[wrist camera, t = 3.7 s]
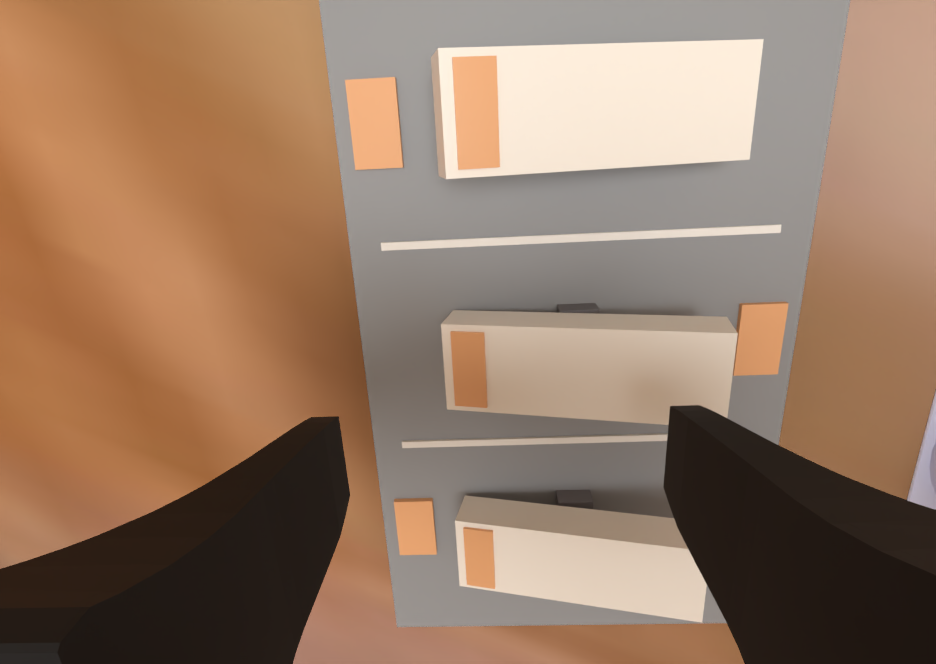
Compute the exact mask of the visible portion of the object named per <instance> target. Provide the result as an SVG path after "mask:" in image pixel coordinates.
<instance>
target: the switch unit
mask: <svg viewBox="0 0 936 664" xmlns="http://www.w3.org/2000/svg"><path fill="white" fill-rule="evenodd" d="M319 5H320V13H321V21H322V29H323V37H324V45H325V53H326V61H327V69H328V77H329V85H330V93H331V101H332V109H333V117H334V125H335V133H336V141H337V149H338V157H339V165H340V173H341V181H342V189H343V197H344V205H345V213H346V221H347V229H348V237H349V245H350V253H351V261H352V269H353V277H354V285H355V293H356V301H357V310H358V318H359V326H360V334H361V342H362V350H363V358H364V366H365V374H366V382H367V390H368V398H369V406H370V414H371V422H372V430H373V438H374V446H375V454H376V462H377V470H378V478H379V486H380V494H381V502H382V510H383V518H384V526H385V534H386V542H387V550H388V558H389V566H390V574H391V582H392V590H393V598H394V606H395V614H396V622H397V627H443V626H525V625H607V624H689V623H701V622H694V621H687V620H681V619H674V618H668V617H661V616H655V615H648V614H641V613H635V612H628V611H622V610H615V609H608V608H602V607H595V606H589V605H582V604H575V603H569V602H562V601H556V600H549V599H542V598H536V597H529V596H523V595H516V594H510V593H503V592H496V591H490V590H483V589H477V588H470V587H463V586H460V585H459V571H458V557H457V543H456V529H455V519H456V517H457V514H458V512H459V509H460V507H461V504H462V502H463V499H464V497H465V495H466V496H475V497H484V498H494V499H503V500H512V501H521V502H530V503H539V504H548V505H558V506H567V507H576V508H585V509H594V510H603V511H612V512H621V513H631V514H640V515H649V516H658V517H667V518H674V517H673V514H672V511H671V509H670V506H669V503H668V500H667V497H666V494H665V491H664V488H663V485H664V473H665V461H666V449H667V437H668V425H661V424H647V423H633V422H618V421H604V420H590V419H576V418H561V417H547V416H533V415H519V414H505V413H490V412H476V411H462V410H448V409H447V403H446V389H445V375H444V361H443V347H442V333H441V324H442V322H443V321H444V320H445V319H446V318H447V317H448V316H449V315H450V313H451V312H452V311H453V310H471V311H512V312H554V313H595V314H637V315H679V316H720V317H727V318H728V319H729V321H730V322H731V324H732V325H733V327H734V328H735V330H736V331H737V333H738V336H737V344H736V352H735V360H734V368H733V376H732V384H731V393H730V401H729V409H728V417H727V418H728V419H730V420H732V421H733V422H735V423H737V424H739V425H741V426H743V427H745V428H747V429H748V430H750V431H752V432H754V433H756V434H758V435H760V436H762V437H763V438H765V439H767V440H769V441H771V442H773V443H775V444H777V445H778V444H779V438H780V432H781V426H782V420H783V414H784V407H785V401H786V395H787V389H788V383H789V376H790V370H791V364H792V358H793V352H794V345H795V339H796V333H797V327H798V321H799V315H800V308H801V302H802V296H803V290H804V284H805V277H806V271H807V265H808V259H809V253H810V247H811V240H812V234H813V228H814V222H815V216H816V209H817V203H818V197H819V191H820V185H821V178H822V172H823V166H824V160H825V154H826V148H827V141H828V135H829V129H830V123H831V117H832V110H833V104H834V98H835V92H836V86H837V80H838V73H839V67H840V61H841V55H842V49H843V42H844V36H845V30H846V24H847V18H848V11H849V5H850V0H319ZM748 39H764V41H763V49H762V58H761V66H760V75H759V83H758V92H757V100H756V109H755V117H754V126H753V135H752V143H751V152H750V160H736V161H720V162H705V163H689V164H674V165H658V166H643V167H627V168H612V169H596V170H581V171H565V172H550V173H534V174H519V175H503V176H488V177H472V178H456V179H444V178H442V177H439V174H438V159H437V143H436V128H435V113H434V98H433V83H432V68H431V57H432V55H433V54H434V53H435V51H436V50H437V49H438V48H456V47H492V46H529V45H566V44H602V43H639V42H675V41H712V40H748ZM702 623H727V622H726V620H725V618H724V616H723V615H722V613H721V611H720V609H719V607H718V605H717V603H716V601H715V599H714V597H713V595H712V594H711V592H710V590H709V588H708V586H707V587H706V596H705V604H704V612H703V620H702Z"/></svg>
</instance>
